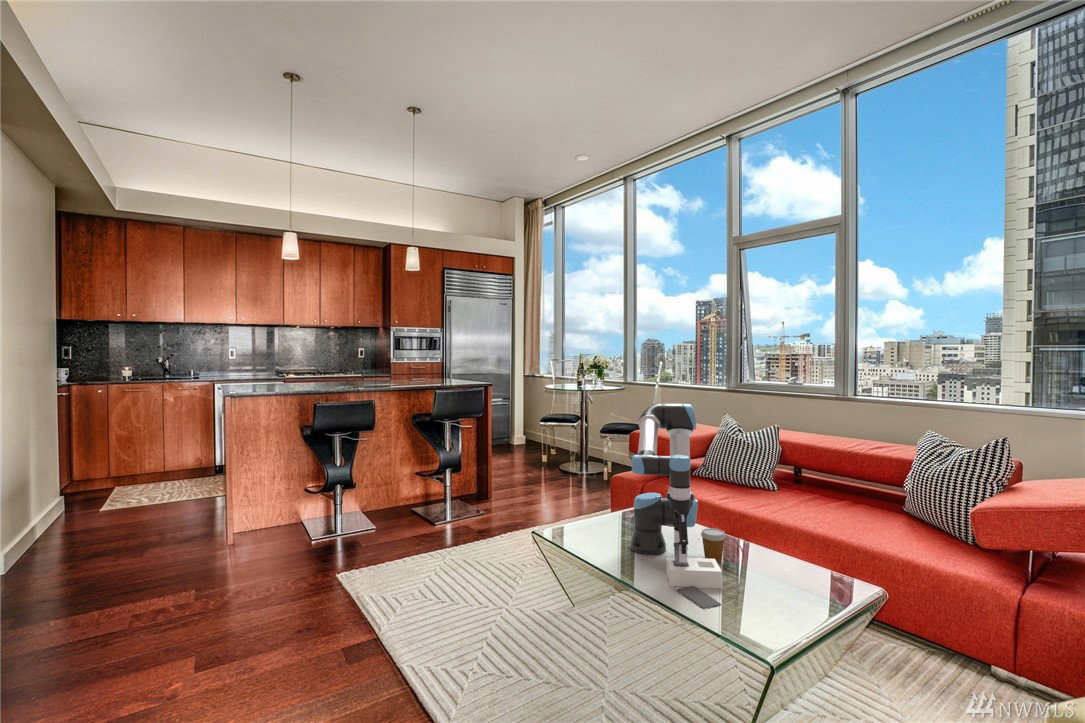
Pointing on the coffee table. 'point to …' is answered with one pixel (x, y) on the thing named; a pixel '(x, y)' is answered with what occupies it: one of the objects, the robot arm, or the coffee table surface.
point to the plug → (676, 556)
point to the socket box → (695, 573)
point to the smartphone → (698, 597)
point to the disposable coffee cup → (713, 543)
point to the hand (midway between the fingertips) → (680, 555)
